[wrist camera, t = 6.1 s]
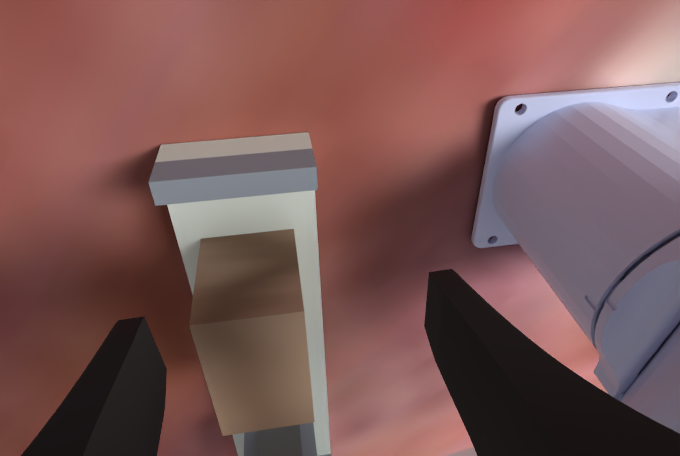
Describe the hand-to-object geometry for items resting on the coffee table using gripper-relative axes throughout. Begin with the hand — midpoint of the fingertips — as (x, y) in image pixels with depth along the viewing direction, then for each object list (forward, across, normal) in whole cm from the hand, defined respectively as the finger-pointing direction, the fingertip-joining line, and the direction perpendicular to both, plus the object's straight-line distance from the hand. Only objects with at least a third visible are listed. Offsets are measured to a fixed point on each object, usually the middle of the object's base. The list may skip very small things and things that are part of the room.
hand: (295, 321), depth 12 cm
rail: (+10, +2, +11) cm, 15 cm away
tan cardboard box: (+8, +2, +7) cm, 11 cm away
